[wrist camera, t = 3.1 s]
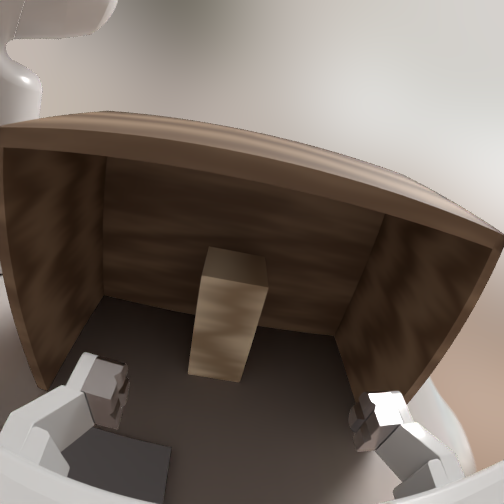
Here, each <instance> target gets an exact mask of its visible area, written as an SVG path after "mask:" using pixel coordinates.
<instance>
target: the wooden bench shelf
mask: <svg viewBox="0 0 504 504" xmlns="http://www.w3.org/2000/svg"><path fill="white" fill-rule="evenodd" d="M209 246H210V247H215V248H220V249H225V250H231V251H236V252H241V253H246V254H252V255H257V256H262V257H265V261H266V270H267V278H268V287H269V288H268V291H267V295H266V298H265V301H264V305H263V308H262V311H261V315H260V318H259V321H258V325H257V326H262V327H269V328H276V329H283V330H290V331H298V332H305V333H313V334H322V335H330V336H334V337H335V340H336V343H337V346H338V349H339V352H340V355H341V358H342V361H343V364H344V368H345V371H346V374H347V377H348V380H349V383H350V386H351V390H352V393H353V396H354V399H355V403H358V402H359V399H358V398H359V396H360V395H361V394H362V393H363V392H373V391H399V392H400V393H401V394H402V396H403V398H404V400H405V403H406V405H407V404H408V403H409V401H410V400H411V399H412V398H413V396H414V395H415V394H416V393H417V392H418V390H419V389H420V388H421V386H422V385H423V384H424V383H425V381H426V380H427V379H428V377H429V376H430V374H431V373H432V372H433V370H434V369H435V368H436V366H437V365H438V363H439V362H440V361H441V359H442V358H443V356H444V355H445V353H446V352H447V350H448V349H449V347H450V346H451V344H452V343H453V341H454V339H455V338H456V336H457V335H458V333H459V332H460V330H461V328H462V327H463V325H464V323H465V322H466V320H467V318H468V317H469V315H470V313H471V312H472V310H473V308H474V307H475V305H476V303H477V301H478V299H479V297H480V295H481V294H482V292H483V290H484V288H485V286H486V284H487V282H488V280H489V278H490V276H491V274H492V272H493V270H494V268H495V266H496V263H497V261H498V259H499V257H500V255H501V252H502V250H503V248H504V234H503V233H502V232H500V231H499V230H497V229H496V228H494V227H493V226H491V225H490V224H488V223H487V222H485V221H484V220H482V219H480V218H479V217H477V216H476V215H474V214H472V213H471V212H469V211H468V210H466V209H464V208H463V207H461V206H459V205H458V204H456V203H454V202H453V201H451V200H449V199H447V198H446V197H444V196H442V195H440V194H438V193H437V192H435V191H433V190H431V189H429V188H428V187H426V186H424V185H422V184H420V183H418V182H416V181H414V180H412V179H410V178H408V177H407V176H405V175H402V174H400V173H397V172H394V171H392V170H389V169H386V168H383V167H380V166H377V165H374V164H371V163H368V162H365V161H362V160H359V159H356V158H352V157H349V156H346V155H343V154H339V153H336V152H332V151H329V150H325V149H322V148H318V147H315V146H311V145H307V144H303V143H299V142H296V141H292V140H287V139H283V138H279V137H275V136H271V135H266V134H262V133H257V132H252V131H248V130H243V129H238V128H233V127H227V126H222V125H216V124H211V123H205V122H199V121H193V120H186V119H178V118H171V117H164V116H156V115H147V114H138V113H127V112H115V111H100V112H88V113H78V114H69V115H61V116H53V117H46V118H39V119H33V120H27V121H22V122H16V123H11V124H6V125H1V126H0V263H1V268H2V273H3V278H4V283H5V287H6V292H7V296H8V300H9V304H10V308H11V311H12V315H13V319H14V322H15V325H16V329H17V332H18V335H19V338H20V341H21V344H22V347H23V350H24V353H25V356H26V358H27V361H28V364H29V366H30V369H31V372H32V374H33V377H34V379H35V381H36V384H37V386H38V387H39V388H41V389H43V390H46V391H48V390H49V388H50V386H51V384H52V382H53V380H54V379H55V377H56V375H57V373H58V371H59V369H60V367H61V366H62V364H63V362H64V360H65V359H66V357H67V355H68V353H69V351H70V350H71V348H72V346H73V345H74V343H75V341H76V339H77V338H78V336H79V334H80V333H81V331H82V329H83V328H84V326H85V324H86V323H87V321H88V320H89V318H90V316H91V315H92V313H93V311H94V310H95V308H96V307H97V305H98V304H99V302H100V300H101V299H102V297H103V296H104V295H106V296H110V297H114V298H118V299H122V300H127V301H131V302H135V303H140V304H144V305H149V306H153V307H158V308H163V309H168V310H172V311H177V312H182V313H187V314H193V315H196V309H197V302H198V296H199V289H200V283H201V277H202V272H203V268H204V264H205V260H206V256H207V252H208V248H209Z"/></svg>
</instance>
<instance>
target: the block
mask: <svg viewBox="0 0 504 504" xmlns="http://www.w3.org/2000/svg"><path fill="white" fill-rule="evenodd" d="M268 288H269V287H268V278H267V270H266V261H265V257H262V256H257V255H252V254H246V253H241V252H236V251H231V250H225V249H220V248H215V247H210V246H209V248H208V252H207V256H206V260H205V264H204V268H203V272H202V277H201V283H200V289H199V296H198V302H197V309H196V316H195V323H194V330H193V337H192V345H191V352H190V360H189V368H188V374H190V375H196V376H202V377H207V378H214V379H220V380H227V381H233V382H240V380H241V377H242V374H243V370H244V367H245V364H246V361H247V358H248V354H249V351H250V348H251V345H252V341H253V338H254V335H255V331H256V328H257V325H258V321H259V318H260V315H261V311H262V308H263V305H264V301H265V298H266V295H267V291H268Z"/></svg>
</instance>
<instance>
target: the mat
mask: <svg viewBox="0 0 504 504" xmlns="http://www.w3.org/2000/svg"><path fill="white" fill-rule="evenodd" d="M61 454H62V455H63V457H64V458H65V460H66V461H67V463H68V465H69V467H70V469H69V472H68V475H67V477H68V478H71V479H73V480H76V481H79V482H81V483H84V484H87V485H90V486H93V487H96V488H99V489H102V490H106V491H109V492H112V493H116V494H119V495H123V496H127V497H130V498H134V499H139V500H143V501H147V502H152V503H157V504H163V502H164V495H165V488H166V481H167V474H168V468H169V461H170V455H171V447H167V446H163V445H158V444H153V443H149V442H145V441H140V440H136V439H132V438H129V437H125V436H121V435H118V434H114V433H111V432H107V431H104V430H101V429H98V428H94V427H91V428H90V429H89V430H88V431H87V432H85V433H84V434H83V435H82V436H80V437H79V438H78V439H77V440H75V441H74V442H73V443H72V444H70V445H69V446H68V447H66V448H65V449H64V450H63V451H61Z"/></svg>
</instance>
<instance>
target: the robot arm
mask: <svg viewBox="0 0 504 504" xmlns="http://www.w3.org/2000/svg"><path fill="white" fill-rule="evenodd" d="M24 1H25V3H24ZM117 2H118V0H0V126H1V125H6V124H11V123H16V122H22V121H27V120H33V119H39V115H40V107H41V98H42V92H43V91H42V84H41V81H40V79H39V78H38V76H37V75H36V74H35V73H34V72H33V71H31V70H30V69H28V68H27V67H25V66H23V65H21V64H20V63H18V62H15V61H14V60H12V59H11V58H10V57H9V56H8V54H7V52H6V44H7V42H8V41H10V40H13V39H62V38H70V37H78V36H85V35H90V34H92V33H94V32H95V31H97V30H98V29H99V28H100V27H102V26H103V25H104V24H105V23H106V21H107V20H108V19H109V18H110V16H111V15H112V13H113V11H114V9H115V7H116V5H117ZM23 4H24V6H23ZM22 7H23V9H22ZM21 10H22V13H21ZM20 14H21V16H20ZM19 17H20V19H19ZM18 20H19V23H18ZM17 24H18V26H17ZM16 27H17V30H16ZM15 31H16V34H15ZM14 35H15V38H14ZM1 273H2V268H1V263H0V274H1ZM127 373H128V366H127V364H125V363H122V362H118V361H115V360H111V359H108V358H104V357H101V356H98V355H94V354H91V353H88V352H84V353H83V354H82V355H81V357H80V359H79V361H78V363H77V365H76V366H75V368H74V370H73V372H72V374H71V376H70V378H69V380H68V382H67V384H66V386H63V385H61V386H59V387H57V388H55V389H53V390H52V391H50V392H48V393H46V394H44V395H43V396H41V397H39V398H37V399H35V400H33V401H32V402H30V403H28V404H26V405H24V406H22V407H20V408H19V409H17V410H15V411H13V412H11V413H10V415H9V417H8V419H7V421H6V423H5V425H4V426H3V428H2V430H1V432H0V504H157V503H152V502H147V501H143V500H139V499H134V498H130V497H127V496H123V495H119V494H116V493H112V492H109V491H106V490H102V489H99V488H96V487H93V486H90V485H87V484H84V483H81V482H79V481H76V480H73V479H71V478H68V477H67V475H68V472H69V469H70V467H69V465H68V463H67V461H66V460H65V458H64V457H63V455H62V454H61V451H63V450H64V449H65V448H66V447H68V446H69V445H70V444H72V443H73V442H74V441H75V440H77V439H78V438H79V437H80V436H82V435H83V434H84V433H85V432H87V431H88V430H89V429H90V428H91V427H93V426H94V424H97V425H101V426H104V427H108V428H112V429H116V430H118V428H119V425H120V421H121V418H122V415H123V414H122V409H121V407H123V406H124V405H126V402H127V399H128V394H129V379H128V378H127V377H126V375H127ZM358 399H359V402H358V403H356V404H355V405H353V406H352V408H351V410H350V412H349V416H348V423H349V427H350V429H351V430H352V431H353V432H354V436H353V442H354V445H355V449H356V452H361V451H374V450H376V451H375V452H376V453H377V454H378V455H379V456H380V457H381V459H382V460H383V461H384V462H385V463H386V464H387V465H388V466H389V468H390V469H391V470H392V471H393V472H394V473H395V474H396V475H397V476H398V478H399V479H400V480H401V481H402V483H401V484H399V485H398V486H397V487H395V488H394V490H393V494H394V498H395V500H391V501H386V502H382V503H377V504H504V460H503V461H500V462H498V463H496V464H494V465H492V466H490V467H488V468H486V469H484V470H481V471H479V472H477V473H474V474H472V475H469V476H467V477H465V475H464V472H463V470H462V467H461V465H460V463H459V460H458V458H457V455H456V453H455V452H454V451H452V450H451V449H450V448H449V447H447V446H446V445H445V444H444V443H442V442H441V441H440V440H439V439H437V438H436V437H435V436H433V435H432V434H431V433H430V432H429V431H427V430H426V429H425V428H424V427H422V426H421V425H420V424H419V423H417V422H415V423H414V421H413V419H412V416H411V414H410V412H409V409H408V407H407V405H406V403H405V400H404V398H403V396H402V394H401V393H400V392H399V391H373V392H363V393H362V394H361V395H360V396H359V398H358Z"/></svg>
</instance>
